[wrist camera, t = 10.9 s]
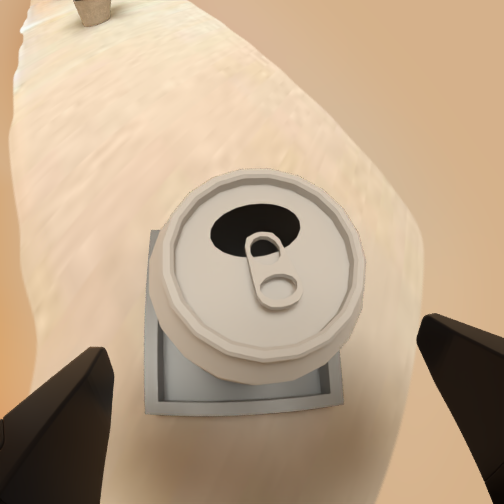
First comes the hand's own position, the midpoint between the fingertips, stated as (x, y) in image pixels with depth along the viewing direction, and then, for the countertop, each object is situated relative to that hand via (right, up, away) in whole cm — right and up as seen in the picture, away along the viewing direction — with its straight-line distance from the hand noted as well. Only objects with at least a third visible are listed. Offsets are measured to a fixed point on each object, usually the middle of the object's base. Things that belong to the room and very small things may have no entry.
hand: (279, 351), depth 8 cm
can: (-2, -2, +12) cm, 12 cm away
